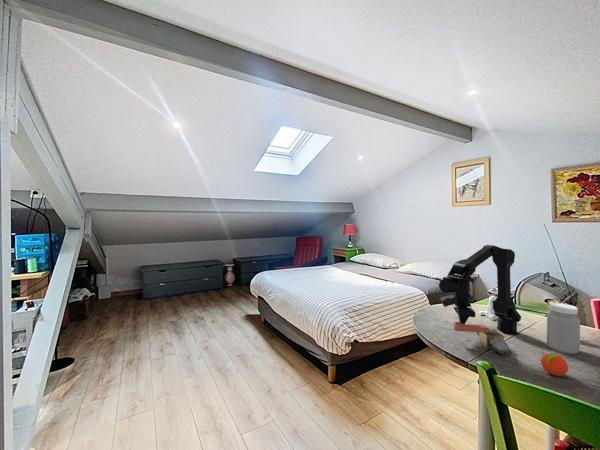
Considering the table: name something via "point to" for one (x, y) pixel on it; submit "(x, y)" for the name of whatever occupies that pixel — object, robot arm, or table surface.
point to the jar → (563, 328)
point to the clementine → (554, 364)
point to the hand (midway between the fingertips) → (462, 325)
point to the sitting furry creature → (490, 309)
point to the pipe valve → (494, 342)
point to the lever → (473, 328)
